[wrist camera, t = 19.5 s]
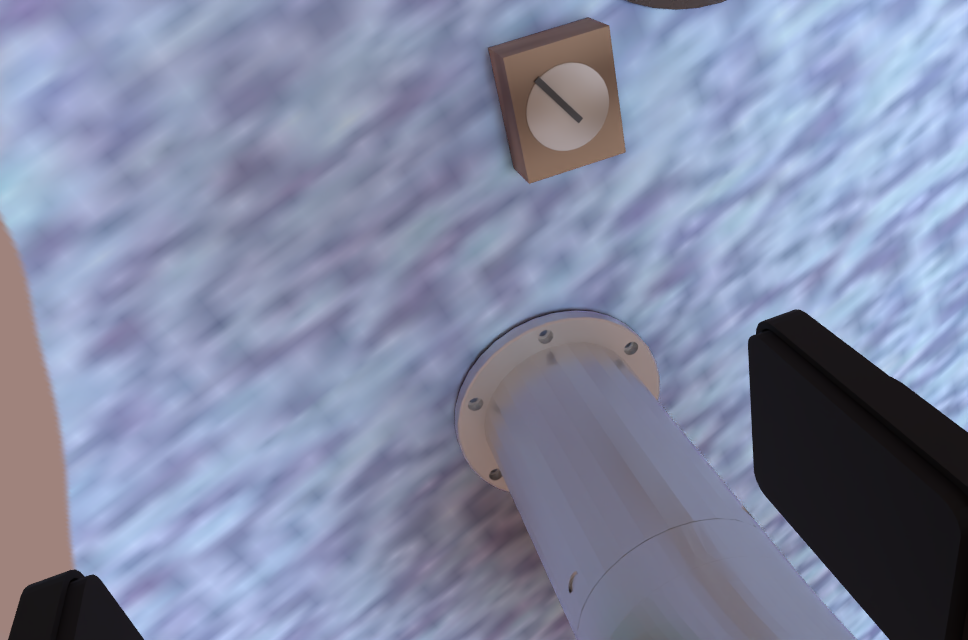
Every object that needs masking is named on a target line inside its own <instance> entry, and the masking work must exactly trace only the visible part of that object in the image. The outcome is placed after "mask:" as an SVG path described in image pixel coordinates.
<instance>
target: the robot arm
mask: <svg viewBox="0 0 968 640" xmlns="http://www.w3.org/2000/svg"><path fill="white" fill-rule="evenodd" d="M748 355H749V376H750V397H751V419H752V440H753V462H754V474H755V477H756V480H757V483H758V485H759V487H760V489H761V490H762V492H763V493H764V495H765V496H766V497H767V498H768V500H769V501H770V502H771V503H772V504H773V505H774V506H775V508H776V509H777V510H778V511H779V512H780V513H781V515H782V516H783V517H784V518H785V519H786V520H787V522H788V523H789V524H790V525H791V526H792V527H793V528H794V530H795V531H796V532H797V533H798V534H799V535H800V537H801V538H802V539H803V540H804V541H805V542H806V544H807V545H808V546H809V547H810V548H811V549H812V550H813V552H814V553H815V554H816V555H817V556H818V557H819V559H820V560H821V561H822V562H823V563H824V564H825V565H826V567H827V568H828V569H829V570H830V571H831V572H832V574H833V575H834V576H835V577H836V578H837V579H838V581H839V582H840V583H841V584H842V585H843V586H844V587H845V589H846V590H847V591H848V592H849V593H850V594H851V596H852V597H853V598H854V599H855V600H856V601H857V603H858V604H859V605H860V606H861V607H862V608H863V609H864V611H865V612H866V613H867V614H868V615H869V616H870V618H871V619H872V620H873V621H874V622H875V623H876V624H877V626H878V627H879V628H880V629H881V630H882V631H883V633H884V634H885V635H886V636H887V637H888V638H889V640H968V432H966V431H965V430H964V429H962V428H961V427H960V426H958V425H957V424H956V423H954V422H953V421H952V420H950V419H949V418H948V417H946V416H945V415H944V414H942V413H941V412H940V411H939V410H937V409H936V408H935V407H933V406H932V405H931V404H929V403H928V402H927V401H925V400H924V399H923V398H921V397H920V396H919V395H917V394H916V393H915V392H913V391H912V390H911V389H909V388H908V387H907V386H905V385H904V384H903V383H901V382H899V381H898V380H896V379H894V378H892V377H890V376H888V375H887V374H886V373H885V372H883V371H882V370H881V369H879V368H878V367H877V366H875V365H874V364H873V363H871V362H870V361H869V360H867V359H866V358H865V357H863V356H862V355H861V354H859V353H858V352H857V351H855V350H854V349H853V348H851V347H850V346H849V345H848V344H846V343H845V342H844V341H842V340H841V339H840V338H838V337H837V336H836V335H834V334H833V333H832V332H830V331H829V330H828V329H826V328H825V327H824V326H822V325H821V324H820V323H818V322H817V321H816V320H815V319H813V318H812V317H811V316H809V315H808V314H807V313H805V312H803V311H801V310H793V311H790V312H787V313H784V314H781V315H779V316H776V317H773V318H770V319H768V320H765V321H762V322H760V323H759V324H758V326H757V329H756V335H753V336H751V337H750V338H749V341H748ZM659 393H660V379H659V372H658V368H657V364H656V361H655V359H654V357H653V355H652V353H651V351H650V349H649V347H648V346H647V345H646V344H645V343H644V341H643V340H642V339H641V338H640V337H639V335H638V334H637V333H635V332H634V331H633V330H632V329H631V328H630V327H628V326H627V325H626V324H625V323H623V322H621V321H619V320H617V319H615V318H613V317H611V316H608V315H604V314H600V313H596V312H592V311H574V310H573V311H565V312H557V313H552V314H548V315H545V316H542V317H538V318H535V319H532V320H530V321H528V322H526V323H524V324H522V325H520V326H518V327H516V328H514V329H512V330H511V331H509V332H508V333H507V334H505V335H504V336H502V337H501V338H500V339H498V340H497V341H495V342H494V343H493V344H492V345H491V346H490V347H489V348H488V349H487V350H486V351H485V352H484V353H483V354H482V355H481V356H480V357H479V359H478V360H477V362H476V363H475V364H474V366H473V367H472V368H471V370H470V371H469V372H468V375H467V377H466V379H465V381H464V383H463V385H462V387H461V389H460V392H459V396H458V399H457V403H456V407H455V430H456V435H457V440H458V443H459V445H460V447H461V450H462V453H463V455H464V457H465V459H466V460H467V462H468V464H469V465H470V467H471V469H472V470H473V471H474V472H475V473H476V474H477V475H478V476H479V477H481V478H482V479H483V480H484V481H486V482H487V483H489V484H491V485H492V486H494V487H496V488H498V489H501V490H504V491H507V492H510V493H511V496H512V498H513V500H514V502H515V505H516V507H517V509H518V511H519V513H520V516H521V518H522V520H523V522H524V524H525V527H526V529H527V531H528V533H529V535H530V538H531V540H532V542H533V544H534V546H535V549H536V551H537V553H538V555H539V557H540V560H541V562H542V564H543V566H544V568H545V571H546V573H547V575H548V577H549V579H550V582H551V584H552V586H553V588H554V590H555V593H556V595H557V597H558V599H559V601H560V604H561V606H562V608H563V610H564V613H565V615H566V617H567V619H568V621H569V624H570V626H571V628H572V630H573V632H574V635H575V637H576V639H577V640H857V639H856V638H855V637H854V636H853V634H852V633H851V632H850V631H849V630H848V629H847V628H846V627H845V626H844V625H843V624H842V622H841V621H840V620H839V619H838V618H837V617H836V616H835V615H834V614H833V613H832V612H831V610H830V609H829V608H828V607H827V606H826V605H825V604H824V603H823V601H822V600H821V599H820V598H819V597H818V596H817V594H816V593H815V592H814V591H813V590H812V589H811V587H810V586H809V585H808V584H807V583H806V582H805V580H804V579H803V578H802V577H801V576H800V575H799V573H798V572H797V571H796V570H795V569H794V567H793V566H792V565H791V564H790V563H789V561H788V560H787V559H786V558H785V556H784V555H783V554H782V553H781V552H780V550H779V549H778V548H777V547H776V545H775V544H774V543H773V542H772V541H771V539H770V538H769V537H768V536H767V534H766V533H765V532H764V531H763V529H762V528H761V527H760V526H759V525H758V523H757V522H756V521H755V520H754V518H753V517H752V516H751V515H750V514H749V512H748V511H747V510H746V509H745V507H744V506H743V505H742V504H741V503H740V501H739V500H738V499H737V498H736V496H735V495H734V494H733V493H732V492H731V490H730V489H729V488H728V487H727V485H726V484H725V483H724V482H723V480H722V479H721V478H720V477H719V476H718V474H717V473H716V472H715V471H714V469H713V468H712V467H711V466H710V465H709V463H708V462H707V461H706V460H705V458H704V457H703V456H702V455H701V453H700V452H699V451H698V450H697V449H696V447H695V446H694V445H693V444H692V442H691V441H690V440H689V439H688V438H687V436H686V435H685V434H684V433H683V431H682V430H681V429H680V428H679V427H678V425H677V424H676V423H675V422H674V420H673V419H672V418H671V417H670V415H669V414H668V413H667V412H666V411H665V409H664V408H663V407H662V406H661V404H660V403H659V402H658V398H659ZM8 640H144V639H143V637H142V636H141V635H140V633H139V632H138V631H137V629H136V628H135V626H134V625H133V624H132V622H131V621H130V620H129V618H128V617H127V615H126V614H125V613H124V611H123V610H122V609H121V607H120V606H119V604H118V603H117V602H116V600H115V599H114V598H113V596H112V595H111V593H110V592H109V591H108V589H107V588H106V587H105V585H104V584H103V582H102V581H101V580H100V579H99V578H98V577H97V576H95V575H89V576H86V577H85V576H84V575H83V574H82V573H81V572H79V571H77V570H70V571H67V572H64V573H61V574H59V575H56V576H53V577H50V578H47V579H45V580H42V581H39V582H36V583H33V584H31V585H29V586H27V587H26V588H25V589H24V590H23V593H22V595H21V597H20V601H19V604H18V608H17V611H16V614H15V618H14V621H13V625H12V628H11V632H10V635H9V639H8Z"/></svg>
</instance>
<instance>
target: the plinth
mask: <svg viewBox="0 0 968 640" xmlns="http://www.w3.org/2000/svg"><path fill="white" fill-rule="evenodd" d="M626 1H628V2H631V3H636V4H640V5H644V6H648V7H652V8H663V9H689V8H699V7H704V6H708V5H712V4H717V3H721V2H724V1H726V0H626Z"/></svg>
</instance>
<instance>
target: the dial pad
mask: <svg viewBox="0 0 968 640" xmlns="http://www.w3.org/2000/svg"><path fill="white" fill-rule="evenodd" d="M488 50H489V54H490V59H491V64H492V68H493V73H494V78H495V82H496V87H497V92H498V96H499V101H500V106H501V110H502V115H503V120H504V124H505V129H506V134H507V138H508V143H509V148H510V153H511V157H512V162H513V167H514V169H515V170H516V171H517V172H518V173H519V174H520V175H521V176H522V177H523V178H524V179H525V180H526V181H527V182H528V183H529V184H530V183H533V182H536V181H539V180H542V179H545V178H548V177H551V176H555V175H558V174H561V173H564V172H567V171H570V170H573V169H576V168H579V167H582V166H585V165H588V164H591V163H594V162H597V161H601V160H604V159H607V158H610V157H613V156H616V155H619V154H622V153H625V152H626V151H625V143H624V136H623V128H622V120H621V113H620V105H619V97H618V90H617V82H616V74H615V67H614V59H613V52H612V44H611V36H610V29H609V25H606V24H604V23H601V22H599V21H596V20H593V19H591V18H585V19H582V20H579V21H575V22H572V23H569V24H565V25H562V26H559V27H556V28H552V29H549V30H546V31H542V32H539V33H536V34H532V35H529V36H526V37H523V38H519V39H516V40H513V41H509V42H506V43H503V44H499V45H496V46H493V47H489V48H488Z"/></svg>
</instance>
